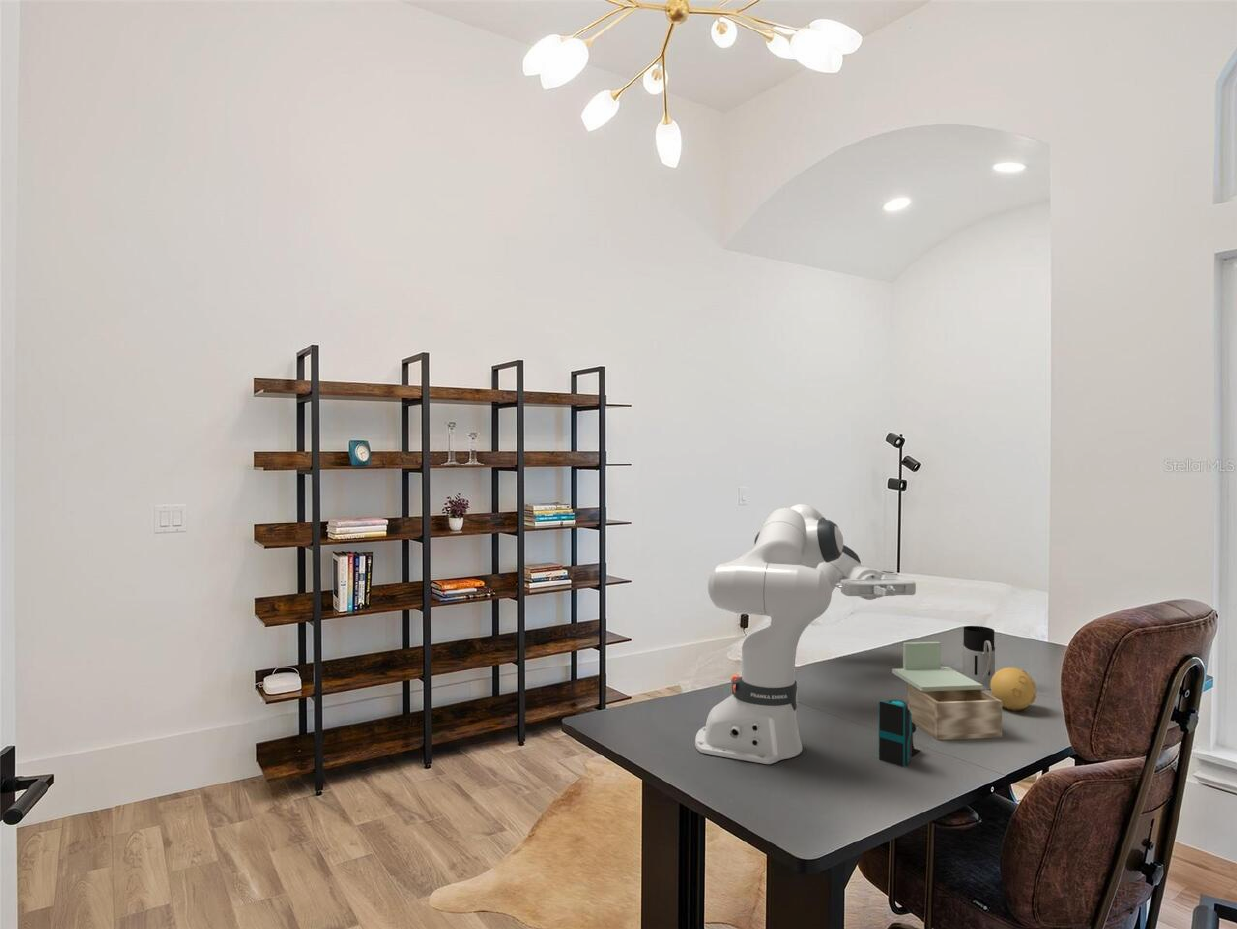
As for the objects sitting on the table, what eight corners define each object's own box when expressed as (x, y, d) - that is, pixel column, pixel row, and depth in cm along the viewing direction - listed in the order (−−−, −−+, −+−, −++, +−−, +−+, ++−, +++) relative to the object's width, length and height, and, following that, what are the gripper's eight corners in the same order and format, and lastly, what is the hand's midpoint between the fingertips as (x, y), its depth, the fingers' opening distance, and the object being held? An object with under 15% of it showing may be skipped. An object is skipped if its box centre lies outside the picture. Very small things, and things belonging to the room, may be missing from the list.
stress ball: (985, 710, 180) (1000, 694, 173) (983, 673, 186) (997, 656, 179) (1028, 719, 179) (1045, 704, 171) (1025, 681, 185) (1041, 665, 177)
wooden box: (936, 739, 159) (937, 703, 159) (907, 718, 172) (907, 684, 172) (1001, 737, 161) (1002, 701, 161) (967, 716, 174) (968, 682, 174)
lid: (921, 691, 166) (921, 659, 166) (892, 672, 180) (892, 642, 180) (982, 689, 168) (982, 657, 168) (948, 671, 182) (948, 641, 182)
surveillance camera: (925, 695, 152) (904, 707, 145) (925, 753, 153) (904, 767, 146) (899, 689, 156) (877, 700, 149) (898, 745, 157) (877, 759, 150)
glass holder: (990, 680, 201) (991, 626, 201) (1008, 697, 187) (1009, 639, 187) (956, 678, 203) (957, 624, 202) (972, 695, 189) (972, 637, 188)
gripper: (832, 573, 210) (853, 581, 196) (901, 572, 212) (926, 580, 198) (832, 595, 210) (853, 605, 196) (901, 593, 212) (925, 603, 198)
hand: (890, 592), depth 197 cm, fingers closed
